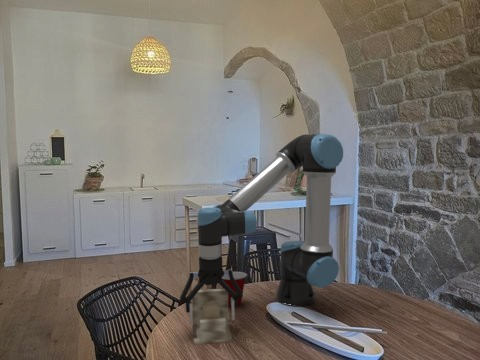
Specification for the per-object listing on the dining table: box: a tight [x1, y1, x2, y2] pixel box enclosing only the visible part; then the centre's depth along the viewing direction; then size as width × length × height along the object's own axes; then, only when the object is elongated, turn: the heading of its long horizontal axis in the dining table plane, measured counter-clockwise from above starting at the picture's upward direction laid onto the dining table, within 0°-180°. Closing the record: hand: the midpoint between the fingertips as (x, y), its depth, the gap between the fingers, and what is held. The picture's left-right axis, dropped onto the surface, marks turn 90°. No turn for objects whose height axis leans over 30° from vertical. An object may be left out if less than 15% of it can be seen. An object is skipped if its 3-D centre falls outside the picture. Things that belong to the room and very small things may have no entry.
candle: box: [203, 300, 220, 320], centre depth 134 cm, size 6×6×10 cm
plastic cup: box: [222, 271, 248, 308], centre depth 158 cm, size 11×11×12 cm
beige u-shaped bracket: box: [192, 288, 233, 345], centre depth 134 cm, size 12×12×13 cm
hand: (212, 319), depth 134 cm, fingers open, 13 cm apart
